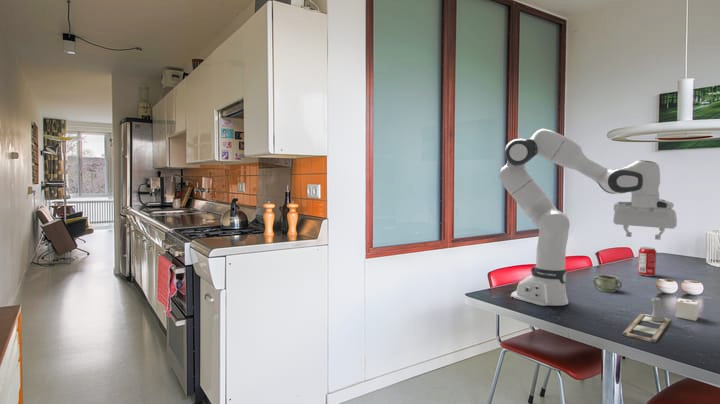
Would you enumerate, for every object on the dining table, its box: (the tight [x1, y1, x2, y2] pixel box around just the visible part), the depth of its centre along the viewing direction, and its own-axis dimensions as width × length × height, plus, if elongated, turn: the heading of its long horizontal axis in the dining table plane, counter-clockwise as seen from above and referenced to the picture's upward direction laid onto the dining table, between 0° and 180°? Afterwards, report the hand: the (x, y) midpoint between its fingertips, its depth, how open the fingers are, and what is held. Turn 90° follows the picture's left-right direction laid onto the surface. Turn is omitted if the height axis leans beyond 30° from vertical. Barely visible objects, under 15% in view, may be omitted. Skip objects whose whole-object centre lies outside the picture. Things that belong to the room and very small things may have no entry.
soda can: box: [637, 246, 657, 277], centre depth 221 cm, size 8×8×15 cm
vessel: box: [592, 274, 623, 293], centre depth 192 cm, size 12×9×6 cm
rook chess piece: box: [650, 297, 666, 322], centre depth 148 cm, size 4×4×8 cm
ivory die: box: [675, 297, 700, 322], centre depth 154 cm, size 6×6×6 cm
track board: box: [622, 313, 671, 343], centre depth 142 cm, size 9×28×1 cm, turn 135°
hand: (642, 238), depth 159 cm, fingers open, 8 cm apart
